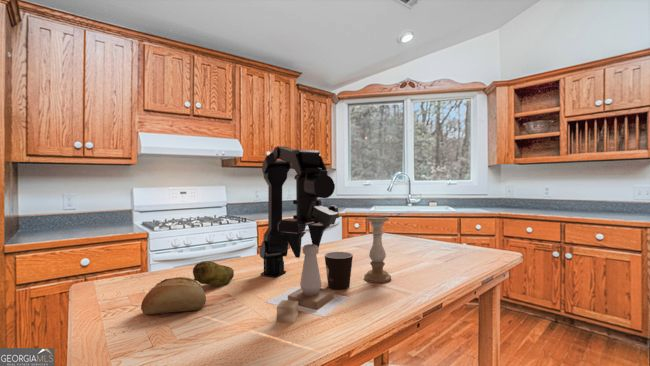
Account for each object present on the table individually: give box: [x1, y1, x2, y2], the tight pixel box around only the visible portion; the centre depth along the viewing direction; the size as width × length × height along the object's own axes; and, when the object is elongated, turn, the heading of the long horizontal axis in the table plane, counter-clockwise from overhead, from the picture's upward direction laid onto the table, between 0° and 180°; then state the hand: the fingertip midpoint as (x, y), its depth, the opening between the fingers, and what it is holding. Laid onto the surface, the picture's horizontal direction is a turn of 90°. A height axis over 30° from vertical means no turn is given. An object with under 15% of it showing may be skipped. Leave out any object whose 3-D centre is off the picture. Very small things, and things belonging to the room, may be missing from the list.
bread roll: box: [140, 276, 207, 315], centre depth 80 cm, size 10×15×8 cm, turn 110°
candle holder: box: [363, 215, 392, 284], centre depth 103 cm, size 9×9×20 cm
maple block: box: [276, 300, 299, 324], centre depth 73 cm, size 4×4×4 cm
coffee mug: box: [324, 251, 353, 291], centre depth 97 cm, size 12×9×10 cm
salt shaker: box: [299, 243, 322, 296], centre depth 84 cm, size 6×6×13 cm
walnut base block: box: [288, 287, 335, 310], centre depth 84 cm, size 9×9×2 cm
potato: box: [192, 260, 235, 287], centre depth 99 cm, size 8×13×8 cm, turn 120°
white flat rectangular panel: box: [264, 286, 350, 317], centre depth 85 cm, size 18×14×1 cm
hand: (307, 253), depth 85 cm, fingers open, 9 cm apart
